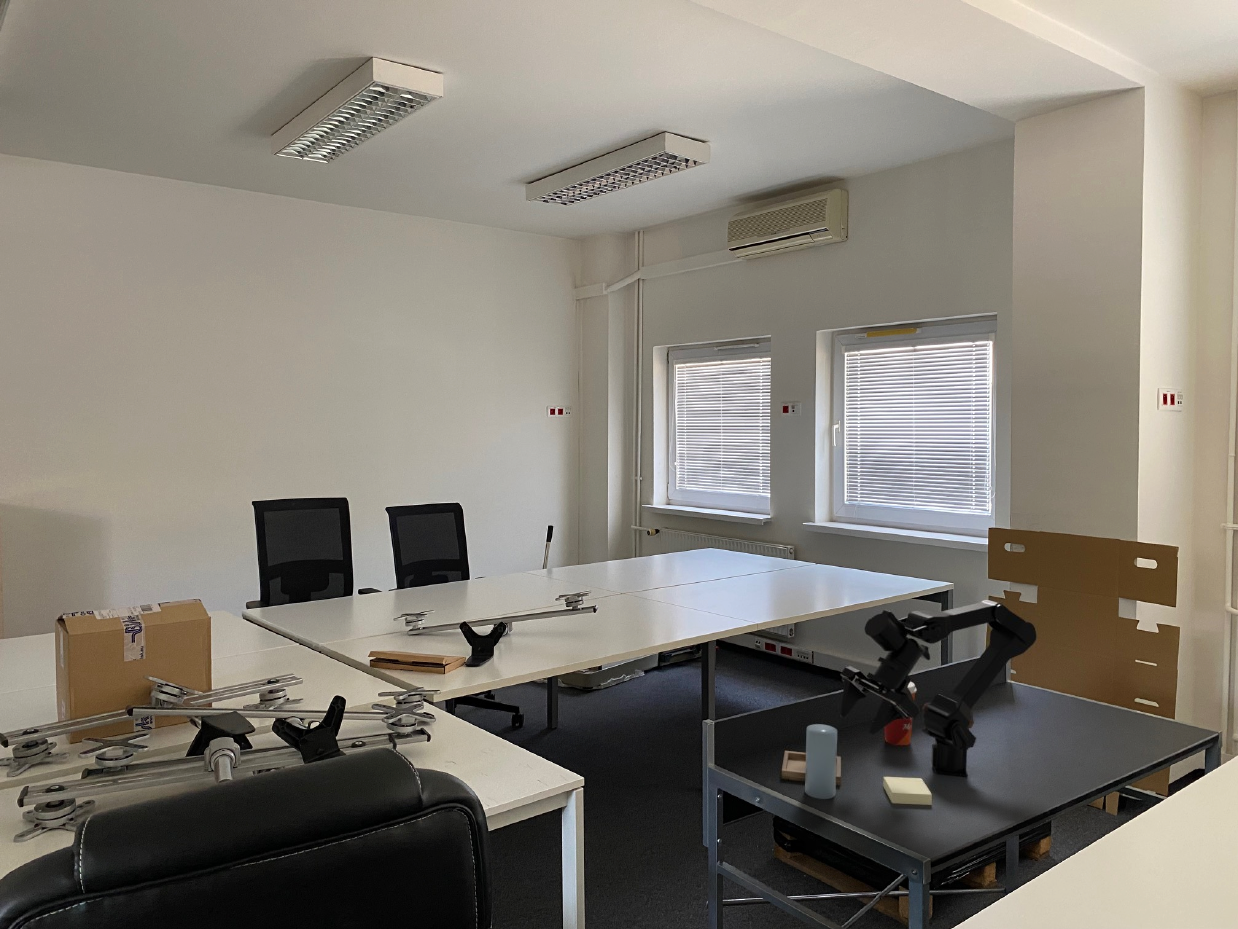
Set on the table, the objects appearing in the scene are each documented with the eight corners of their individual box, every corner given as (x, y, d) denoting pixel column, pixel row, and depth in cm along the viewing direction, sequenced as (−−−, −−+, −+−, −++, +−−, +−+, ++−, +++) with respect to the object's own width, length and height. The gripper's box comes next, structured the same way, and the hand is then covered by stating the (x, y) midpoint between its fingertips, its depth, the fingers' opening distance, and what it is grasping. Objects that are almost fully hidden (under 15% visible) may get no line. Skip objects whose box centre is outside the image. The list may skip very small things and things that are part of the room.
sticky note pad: (921, 790, 177) (921, 778, 177) (931, 807, 169) (931, 794, 169) (883, 788, 177) (883, 776, 177) (892, 805, 170) (892, 792, 170)
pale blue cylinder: (835, 788, 176) (837, 726, 176) (835, 800, 171) (837, 736, 170) (805, 784, 178) (807, 723, 177) (804, 797, 172) (806, 733, 171)
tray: (840, 764, 188) (840, 756, 188) (840, 785, 178) (840, 777, 177) (784, 758, 191) (785, 750, 191) (781, 778, 181) (781, 770, 180)
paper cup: (916, 749, 198) (918, 689, 197) (882, 746, 199) (884, 686, 198) (912, 736, 205) (914, 679, 205) (879, 734, 207) (880, 676, 206)
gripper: (952, 700, 174) (909, 763, 171) (888, 670, 191) (849, 728, 188) (922, 670, 170) (878, 734, 167) (860, 642, 187) (819, 700, 184)
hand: (855, 724), depth 177 cm, fingers open, 9 cm apart
